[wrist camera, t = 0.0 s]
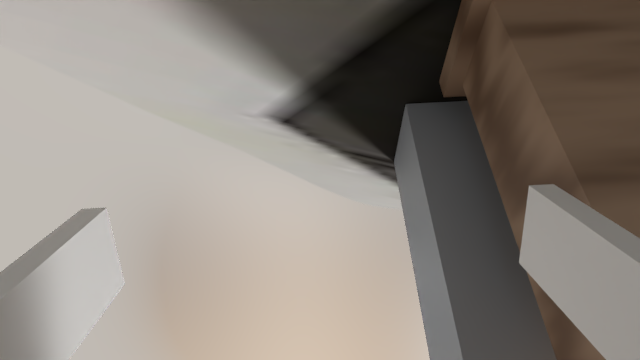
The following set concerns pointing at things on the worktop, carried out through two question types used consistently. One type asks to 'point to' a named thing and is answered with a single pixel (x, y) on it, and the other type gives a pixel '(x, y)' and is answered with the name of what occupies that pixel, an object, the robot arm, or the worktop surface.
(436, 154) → the slate block
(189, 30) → the worktop surface
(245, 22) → the worktop surface
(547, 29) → the walnut shelf stand
